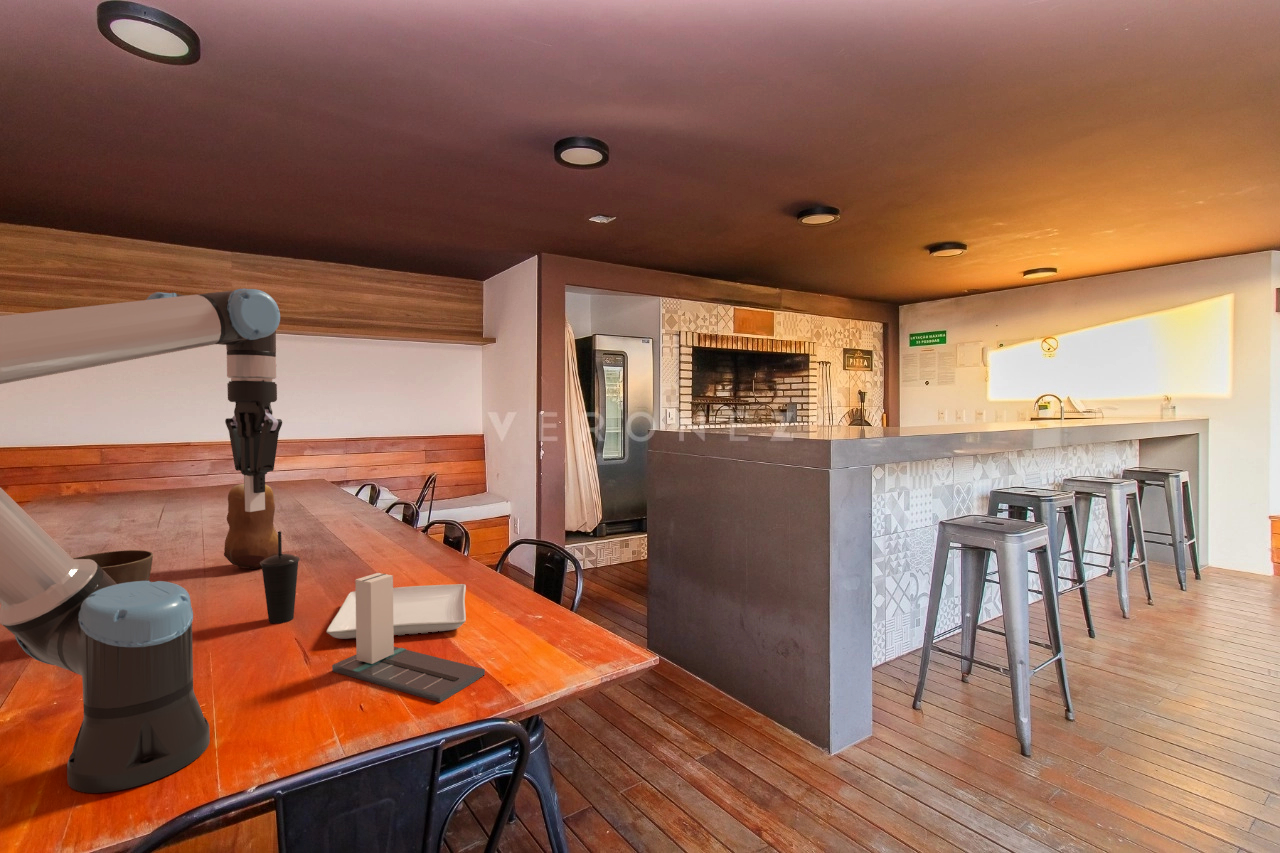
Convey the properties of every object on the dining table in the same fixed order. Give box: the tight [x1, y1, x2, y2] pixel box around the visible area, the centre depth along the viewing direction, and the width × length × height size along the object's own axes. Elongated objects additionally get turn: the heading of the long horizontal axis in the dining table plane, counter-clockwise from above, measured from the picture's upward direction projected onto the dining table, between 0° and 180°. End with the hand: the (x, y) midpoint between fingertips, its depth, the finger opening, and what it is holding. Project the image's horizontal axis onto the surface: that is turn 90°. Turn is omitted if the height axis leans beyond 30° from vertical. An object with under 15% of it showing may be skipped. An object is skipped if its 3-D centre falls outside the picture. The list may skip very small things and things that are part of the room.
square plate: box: [326, 583, 467, 640], centre depth 138 cm, size 27×27×4 cm
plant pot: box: [72, 549, 154, 584], centre depth 128 cm, size 15×15×16 cm
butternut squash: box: [223, 483, 278, 570], centre depth 179 cm, size 14×13×25 cm
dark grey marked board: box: [331, 646, 486, 704], centre depth 110 cm, size 26×11×1 cm, turn 64°
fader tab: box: [354, 572, 395, 664], centre depth 114 cm, size 4×5×15 cm
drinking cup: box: [260, 530, 301, 624], centre depth 137 cm, size 8×8×20 cm
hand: (255, 510), depth 111 cm, fingers closed
